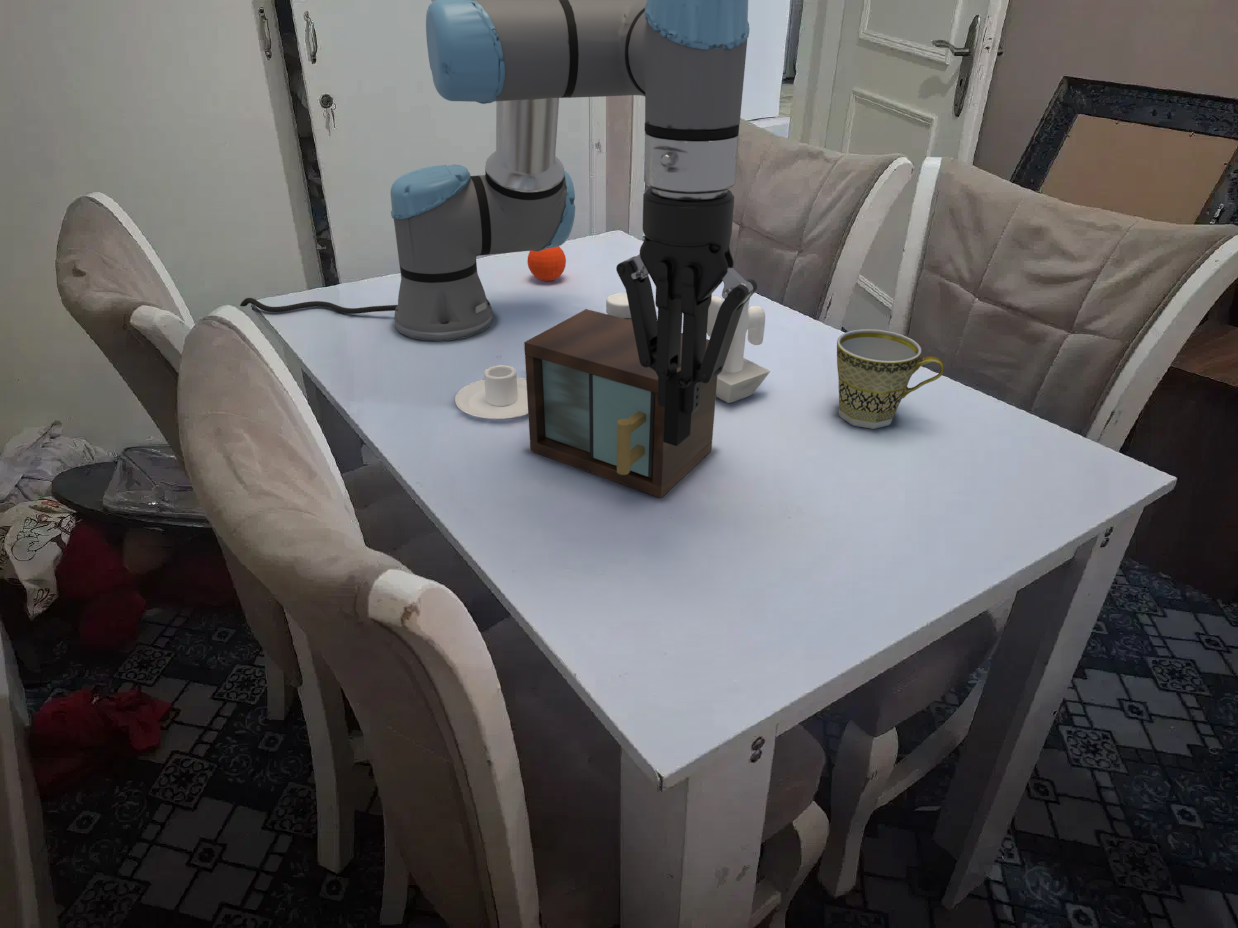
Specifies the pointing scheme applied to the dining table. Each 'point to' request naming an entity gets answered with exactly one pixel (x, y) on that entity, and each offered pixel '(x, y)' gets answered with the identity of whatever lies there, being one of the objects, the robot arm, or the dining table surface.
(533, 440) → the cabinet
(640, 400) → the glass door
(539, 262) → the clementine
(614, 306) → the sprinkles bottle
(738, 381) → the figurine
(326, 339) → the dining table surface
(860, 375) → the ceramic cup
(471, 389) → the candle holder
